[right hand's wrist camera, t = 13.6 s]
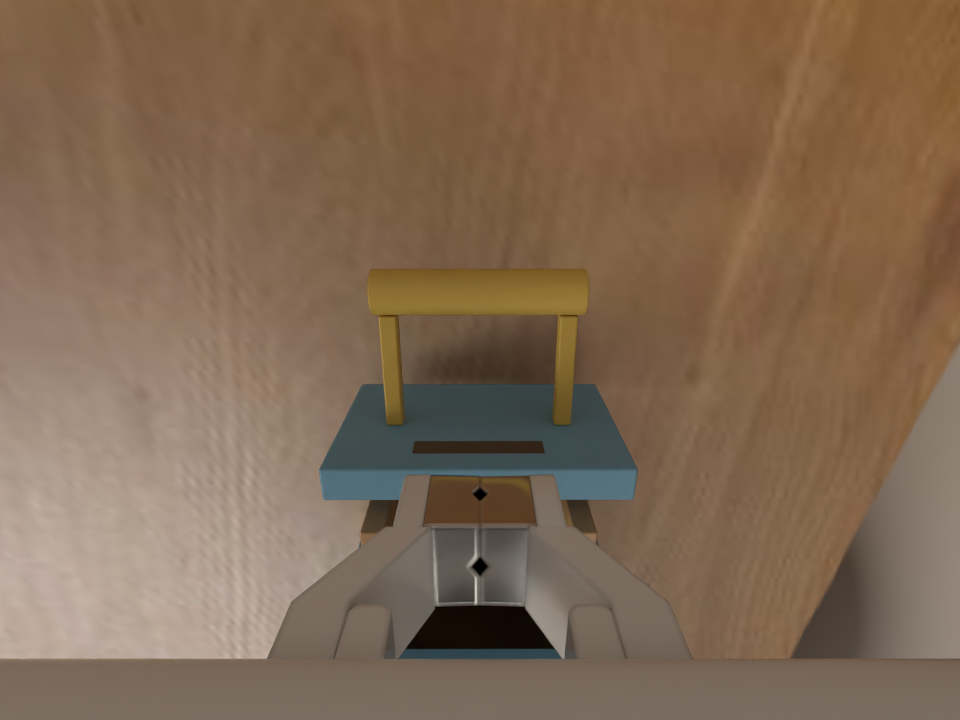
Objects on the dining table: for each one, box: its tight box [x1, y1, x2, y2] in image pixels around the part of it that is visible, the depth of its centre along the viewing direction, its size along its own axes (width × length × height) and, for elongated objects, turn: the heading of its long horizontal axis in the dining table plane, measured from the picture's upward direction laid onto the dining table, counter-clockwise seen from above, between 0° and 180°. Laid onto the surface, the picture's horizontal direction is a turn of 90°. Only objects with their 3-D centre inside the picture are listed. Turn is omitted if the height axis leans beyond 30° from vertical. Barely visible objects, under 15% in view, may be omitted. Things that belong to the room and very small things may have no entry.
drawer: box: [319, 269, 638, 649], centre depth 22 cm, size 25×10×6 cm, turn 0°
